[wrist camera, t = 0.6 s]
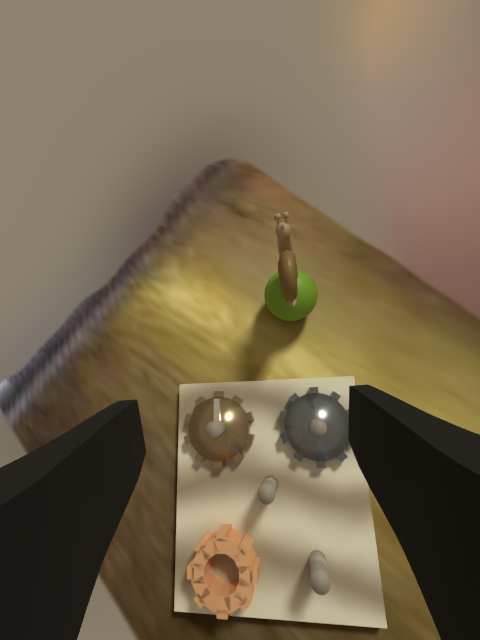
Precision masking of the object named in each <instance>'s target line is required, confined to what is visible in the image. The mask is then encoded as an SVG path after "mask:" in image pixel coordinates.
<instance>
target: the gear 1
mask: <svg viewBox="0 0 480 640" xmlns="http://www.w3.org/2000/svg"><path fill="white" fill-rule="evenodd" d="M242 401H243V399H241V398H240V397H238V396H237V395H234V397H233V398H232V399H230V398H225V397H224V391H214V397H212V398H209V399H207V400H206V399H205V397H202V396H200V397H199V398H198V399H197V400H196V401H195V403H196V404H197V407H196V409H195V410H194V412H193V413H192V414H191V413H187V414H186V416H185V419H184V422H187V423H189V435H187V436H184V440H185V444H186V445H187V444H190V443H191V444H192V446H193V447H194V449H195V450H196V452H197V454H196V455H195V457H194V458H195V459H196V460H197V461H198V462H200V463H201V462H203V461H204V460H205V459H207V460H210V461H214V468H223V467H224V466H225V461H226V460H229V459H231V458H233V459H234V460H235V462H236V463H237V462H238V461H239V460H240V459H242V458H243V457H244V456H245V455H244V453H243V452H242V449H243V448H244V447H245V445H246V443H250V444H252V443H253V441H254V438H255V434H252V433H250V422H249V421H252V420H254V416H253V413H252V411H251V412H248V413H246V411H245V410H244V408H243V407H242V406H241V405H240V404H241V403H242ZM213 421H221V422H222V423H223V424H224V426H225V431H224V433H223V434H222V435H220V436H217V437H214V438H212V437H209V436H208V435H207V433H206V426H207V424H208V423H210V422H213Z"/></svg>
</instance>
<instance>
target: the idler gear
mask: <svg viewBox="0 0 480 640" xmlns="http://www.w3.org/2000/svg"><path fill="white" fill-rule="evenodd" d="M253 540H254V539H253V538H252V537H251V536H250V535H249V534H248V533H247V531H246V532H245V534H244V535H243V534H241V533H240V532H238V531H237V530H235V529H232V524H222V525H221V526H220V528H219V529H218V530H217V531H215V532H214V533H212V534H211V532H210V531H209V530H208V531H207V532H206V533H205V535H204V536H203V537H202V538H201V539H200V541H199V542H198V543H197V545H196V546H195V547H194V550H195V551H196V552H197V554H196V555H195V556H194V558H193V559H192V561H191V562H190V563H189V565H188V566H187V579H191V580H192V585H193V588H194V590H195V592H196V595H195V597H194V599H193V600H194V601H195V602H196V604H197V605H198V606H199V608H200V609H201V608H202V607H203V606H204V605H205V606H206V607H207V608H209V609H210V610H211V611H212V612H214V613H217V619H225V620H227V619H228V617H229V614H231V613H232V612H234V611H235V610H237V609H238V608H241V610H242V611H243V612H245V610H246V609H247V608H248V607H249V606H250V604H251V602H252V598H253V594H254V590H255V586H254V585H253V584H254V583H255V584H257V583H258V579H259V575H260V571H261V560H260V557H256V553H255V551H254V549H253V547H252V543H253ZM215 554H226V555H228V556H229V557H231V558H232V559H233V560H234V561H235V563H236V565H237V567H238V569H239V578H237V579H236V580H234V581H233V582H230V581H223V580H222V579H220V578H219V577H218V576H216V574H215V572H214V570H213V567H212V556H214V555H215Z"/></svg>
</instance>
